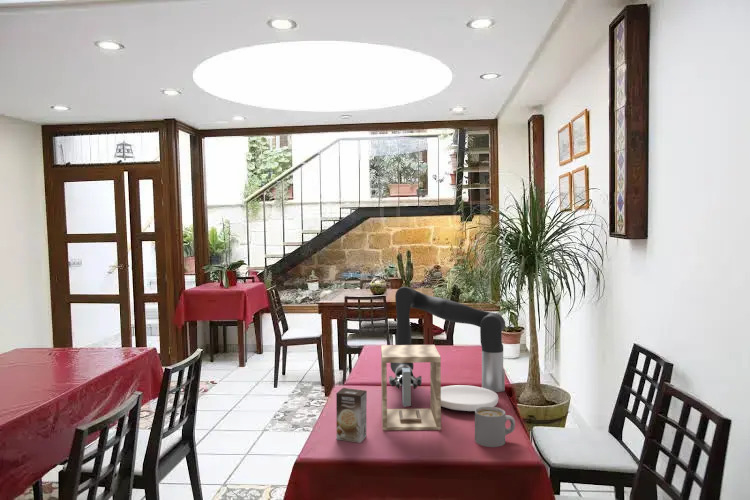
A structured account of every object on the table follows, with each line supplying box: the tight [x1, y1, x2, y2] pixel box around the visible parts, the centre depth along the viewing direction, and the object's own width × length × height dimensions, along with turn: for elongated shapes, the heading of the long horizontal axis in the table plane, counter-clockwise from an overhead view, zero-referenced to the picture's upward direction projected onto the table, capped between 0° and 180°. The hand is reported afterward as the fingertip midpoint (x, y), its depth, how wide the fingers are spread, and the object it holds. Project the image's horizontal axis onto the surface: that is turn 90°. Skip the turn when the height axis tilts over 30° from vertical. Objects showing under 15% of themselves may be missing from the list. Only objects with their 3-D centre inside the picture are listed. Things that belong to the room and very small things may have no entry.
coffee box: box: [335, 387, 368, 444], centre depth 179 cm, size 9×6×16 cm
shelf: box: [380, 344, 442, 431], centre depth 195 cm, size 20×19×26 cm
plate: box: [441, 384, 499, 412], centre depth 213 cm, size 28×6×27 cm
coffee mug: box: [474, 406, 516, 448], centre depth 176 cm, size 13×10×10 cm
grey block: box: [401, 368, 412, 408], centre depth 214 cm, size 3×6×14 cm, turn 1°
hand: (406, 386), depth 211 cm, fingers open, 5 cm apart
